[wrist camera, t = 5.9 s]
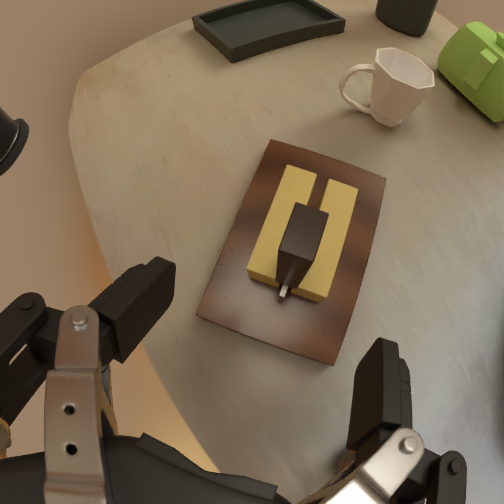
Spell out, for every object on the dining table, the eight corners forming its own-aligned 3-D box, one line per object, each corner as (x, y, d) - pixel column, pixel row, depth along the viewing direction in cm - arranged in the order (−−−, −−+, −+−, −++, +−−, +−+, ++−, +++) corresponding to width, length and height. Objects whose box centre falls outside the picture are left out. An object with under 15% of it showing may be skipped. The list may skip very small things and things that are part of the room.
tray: (232, 63, 33) (230, 49, 30) (194, 28, 36) (191, 17, 34) (343, 32, 34) (346, 19, 32) (293, 1, 38) (294, -10, 35)
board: (330, 364, 23) (333, 366, 22) (198, 315, 25) (195, 315, 23) (382, 183, 27) (386, 178, 26) (270, 145, 29) (270, 138, 27)
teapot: (529, 121, 29) (563, 82, 16) (506, 167, 27) (559, 117, 14) (459, 52, 33) (482, 6, 21) (415, 75, 31) (444, 9, 19)
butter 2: (318, 302, 23) (326, 297, 20) (289, 292, 23) (293, 286, 20) (348, 206, 25) (358, 188, 22) (322, 196, 25) (329, 177, 22)
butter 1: (278, 288, 24) (279, 281, 20) (249, 277, 24) (245, 268, 21) (311, 193, 26) (317, 173, 22) (285, 184, 26) (287, 164, 23)
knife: (289, 305, 23) (307, 281, 12) (270, 298, 23) (270, 267, 12) (305, 259, 24) (334, 197, 13) (287, 253, 24) (300, 185, 13)
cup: (418, 138, 28) (446, 94, 20) (339, 132, 29) (355, 79, 21) (401, 96, 30) (421, 52, 22) (328, 89, 30) (338, 38, 23)
